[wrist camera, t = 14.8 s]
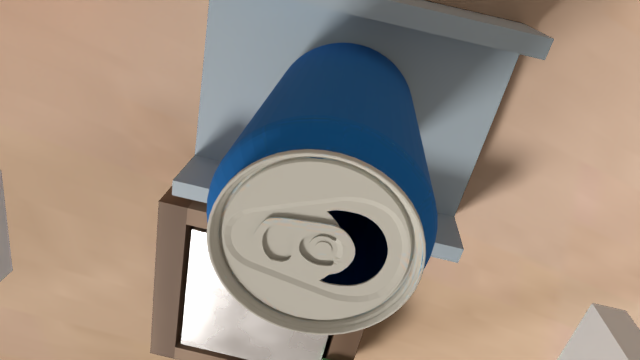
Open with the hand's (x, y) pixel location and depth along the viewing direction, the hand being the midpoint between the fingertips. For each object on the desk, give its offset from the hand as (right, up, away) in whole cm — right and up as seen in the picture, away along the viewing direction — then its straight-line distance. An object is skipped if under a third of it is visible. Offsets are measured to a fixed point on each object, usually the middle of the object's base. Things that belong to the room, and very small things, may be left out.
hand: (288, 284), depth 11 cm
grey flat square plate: (-3, -4, +17) cm, 17 cm away
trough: (+2, +6, +13) cm, 15 cm away
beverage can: (+2, +6, +12) cm, 14 cm away
